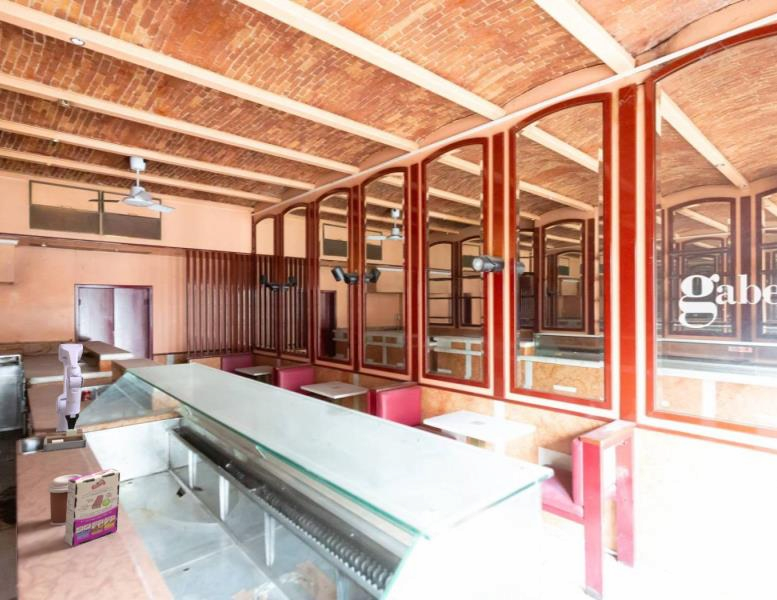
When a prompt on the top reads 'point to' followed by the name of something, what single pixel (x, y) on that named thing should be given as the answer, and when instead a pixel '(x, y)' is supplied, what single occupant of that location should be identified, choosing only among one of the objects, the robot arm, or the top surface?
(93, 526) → the candy bar box
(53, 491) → the coffee cup
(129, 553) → the top surface
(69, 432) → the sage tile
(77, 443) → the tray
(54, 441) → the cream tile
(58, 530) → the top surface
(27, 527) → the top surface
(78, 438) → the plate
